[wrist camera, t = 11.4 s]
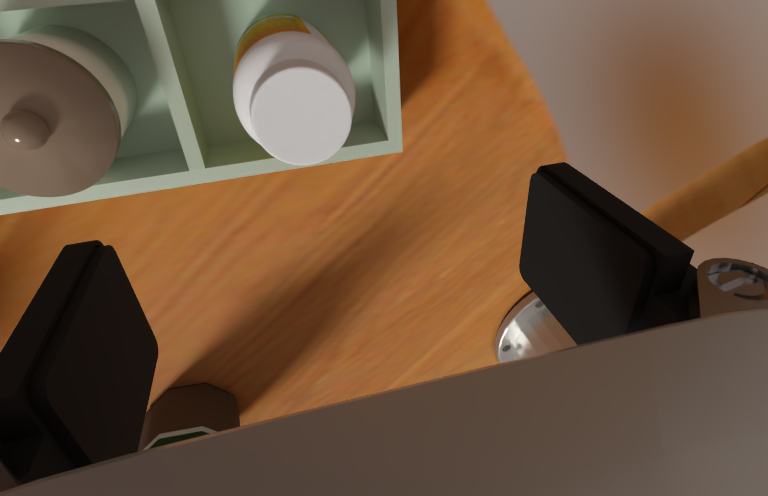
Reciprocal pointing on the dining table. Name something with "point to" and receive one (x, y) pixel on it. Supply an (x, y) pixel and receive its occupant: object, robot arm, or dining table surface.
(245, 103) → the supplement bottle
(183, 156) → the caddy
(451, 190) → the dining table surface
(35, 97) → the jar
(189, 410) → the beer bottle
